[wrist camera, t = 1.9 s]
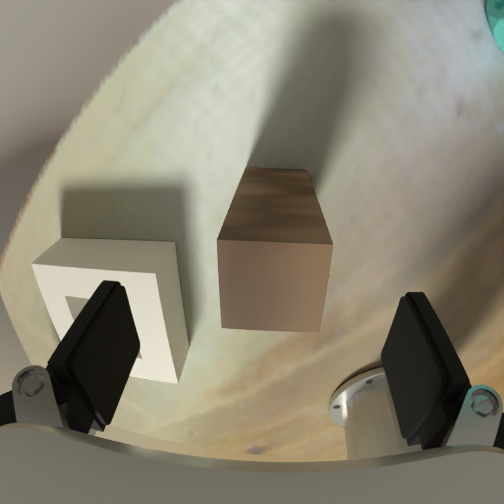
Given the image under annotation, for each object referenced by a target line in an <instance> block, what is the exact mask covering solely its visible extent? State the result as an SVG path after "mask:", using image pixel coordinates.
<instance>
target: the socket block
mask: <svg viewBox="0 0 504 504" xmlns="http://www.w3.org/2000/svg"><path fill="white" fill-rule="evenodd" d="M32 267H33V270H34V273H35V276H36V279H37V282H38V285H39V288H40V291H41V293H42V296H43V299H44V301H45V304H46V307H47V309H48V312H49V314H50V317H51V319H52V321H53V324H54V326H55V329H56V331H57V333H58V335H59V338H60V340H62V339H63V337H64V336H65V334H66V333H67V331H68V329H69V328H70V326H71V325H72V323H73V322H74V320H75V319H76V318H77V316H78V315H79V313H80V312H81V310H82V309H83V307H84V306H85V304H86V303H87V302H88V300H89V299H90V297H91V296H92V294H93V293H94V292H95V290H96V289H97V287H98V286H99V285H100V283H101V282H102V281H103V280H110V281H119V282H120V283H121V286H124V287H125V289H126V293H127V296H128V300H129V304H130V308H131V312H132V315H133V319H134V322H135V326H136V329H137V333H138V336H139V340H140V351H139V354H138V356H137V358H136V361H135V363H134V366H133V368H132V370H131V373H130V375H129V376H132V377H138V378H144V379H150V380H156V381H162V382H169V383H176V384H178V383H179V379H180V376H181V373H182V370H183V366H184V363H185V360H186V357H187V353H188V350H189V341H188V335H187V328H186V322H185V315H184V308H183V301H182V294H181V286H180V279H179V271H178V262H177V254H176V244H175V242H169V241H141V240H112V239H81V238H60V239H59V240H58V241H57V242H55V243H54V244H53V245H52V246H51V247H50V248H48V249H47V250H46V251H45V252H44V253H43V254H42V255H41V256H39V257H38V258H37V259H36V260H35V261H34V262H33V263H32Z"/></svg>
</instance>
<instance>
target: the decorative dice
mask: <svg viewBox="0 0 504 504" xmlns="http://www.w3.org/2000/svg"><path fill="white" fill-rule="evenodd" d="M486 12H487V18H488V22H489V26H490V29H491V32H492V34H493V36H494V38H495V40H496V43H497V44H498V46H499V48H500V49H501V51H502V52H503V54H504V0H488V1H487V4H486Z"/></svg>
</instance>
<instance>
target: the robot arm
mask: <svg viewBox="0 0 504 504" xmlns="http://www.w3.org/2000/svg"><path fill="white" fill-rule="evenodd" d="M139 351H140V340H139V336H138V333H137V329H136V326H135V322H134V319H133V315H132V312H131V308H130V304H129V300H128V296H127V293H126V289H125V287H124V286H121V283H120V282H119V281H110V280H103V281H102V282H101V283H100V285H99V286H98V287H97V289H96V290H95V292H94V293H93V294H92V296H91V297H90V299H89V300H88V302H87V303H86V304H85V306H84V307H83V309H82V310H81V312H80V313H79V315H78V316H77V318H76V319H75V320H74V322H73V323H72V325H71V326H70V328H69V329H68V331H67V333H66V334H65V336H64V337H63V339H62V340H61V342H60V343H59V345H58V346H57V348H56V350H55V351H54V353H53V354H52V356H51V358H50V359H49V361H48V362H47V363H48V365H47V367H46V369H45V368H44V367H41V366H37V365H33V366H29V367H26V368H24V369H22V370H21V371H20V372H19V373H18V374H17V375H16V377H15V378H14V380H13V383H12V390H11V391H9V392H7V393H4V394H2V395H0V504H504V413H503V412H502V411H503V404H502V400H501V398H500V396H499V394H498V393H497V392H496V391H495V390H494V389H492V388H490V387H488V386H485V385H476V386H473V387H472V386H471V384H470V380H469V378H468V376H467V374H466V371H465V369H464V367H463V365H462V363H461V361H460V359H459V357H458V355H457V353H456V351H455V349H454V347H453V345H452V343H451V341H450V339H449V337H448V335H447V333H446V331H445V330H444V328H443V326H442V324H441V322H440V320H439V318H438V317H437V315H436V313H435V311H434V309H433V308H432V306H431V304H430V302H429V301H428V299H427V297H426V295H425V294H424V293H423V292H408V293H406V295H405V296H403V297H401V299H400V302H399V305H398V308H397V311H396V314H395V317H394V320H393V323H392V325H391V328H390V331H389V334H388V337H387V339H386V342H385V345H384V347H383V350H382V353H381V361H382V365H383V367H380V368H376V369H373V370H369V371H367V372H364V373H362V374H360V375H358V376H356V377H354V378H352V379H350V380H349V381H347V382H346V383H345V384H343V385H342V386H341V387H340V388H339V389H338V390H337V391H336V392H335V393H334V394H333V396H332V397H331V400H330V402H329V413H330V417H331V419H332V421H334V422H335V423H336V424H337V425H339V426H341V427H343V428H344V431H345V439H346V448H347V457H348V460H341V461H326V462H256V461H239V460H226V459H216V458H206V457H198V456H190V455H183V454H176V453H170V452H164V451H159V450H153V449H148V448H143V447H138V446H133V445H129V444H124V443H120V442H116V441H112V440H108V439H104V438H100V437H96V436H92V435H89V434H88V433H89V431H90V428H91V429H94V430H98V431H102V432H103V431H104V429H105V426H106V425H109V424H110V423H111V421H112V418H113V416H114V413H115V411H116V408H117V405H118V403H119V400H120V398H121V395H122V393H123V390H124V388H125V385H126V383H127V380H128V378H129V375H130V373H131V370H132V368H133V366H134V363H135V361H136V358H137V356H138V354H139Z"/></svg>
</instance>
